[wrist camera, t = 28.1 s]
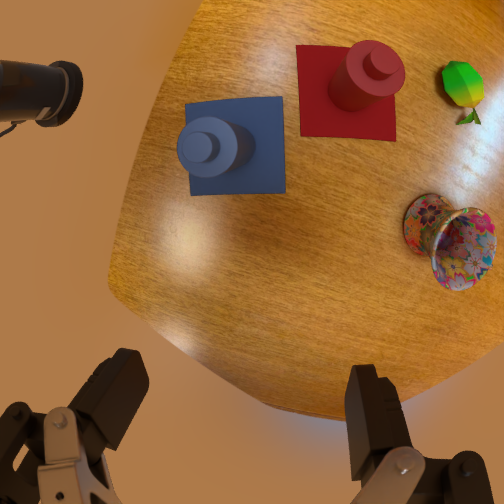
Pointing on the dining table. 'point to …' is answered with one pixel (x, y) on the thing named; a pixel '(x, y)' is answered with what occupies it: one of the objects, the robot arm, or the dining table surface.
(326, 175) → the dining table surface
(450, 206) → the mug
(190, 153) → the blue bottle
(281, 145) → the blue mat
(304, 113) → the red mat
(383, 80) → the red bottle
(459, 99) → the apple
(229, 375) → the dining table surface
